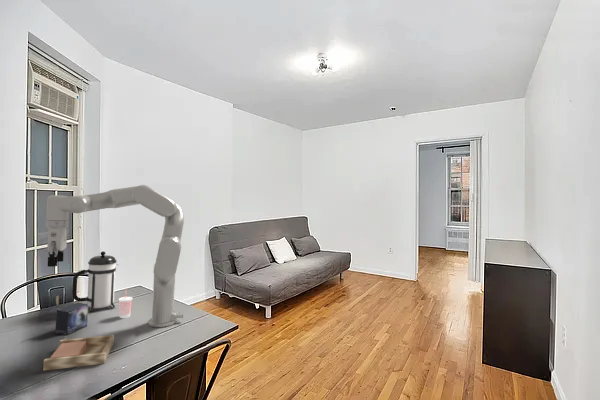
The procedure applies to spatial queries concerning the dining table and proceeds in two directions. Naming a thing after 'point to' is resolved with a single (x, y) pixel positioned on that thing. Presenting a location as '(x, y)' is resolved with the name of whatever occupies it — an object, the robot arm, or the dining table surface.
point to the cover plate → (70, 349)
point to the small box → (71, 318)
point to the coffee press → (98, 282)
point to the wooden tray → (92, 355)
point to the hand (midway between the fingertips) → (55, 263)
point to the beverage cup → (125, 306)
